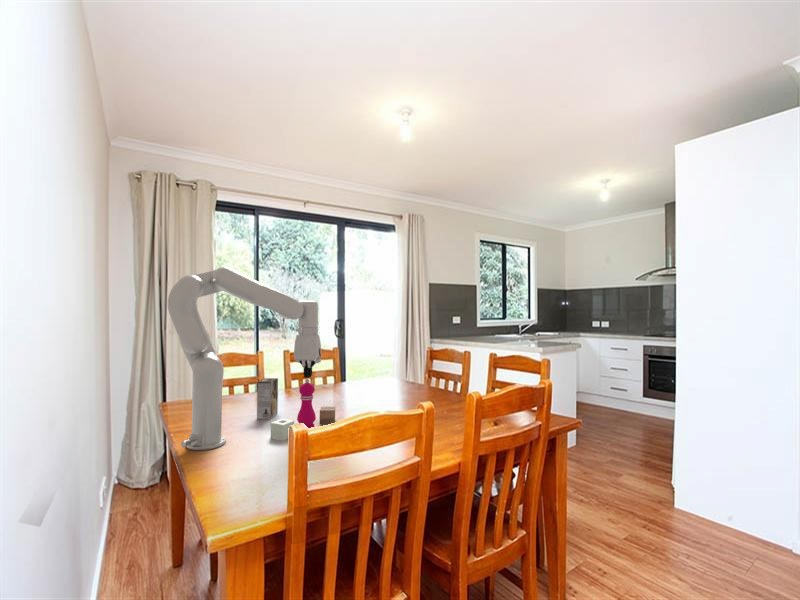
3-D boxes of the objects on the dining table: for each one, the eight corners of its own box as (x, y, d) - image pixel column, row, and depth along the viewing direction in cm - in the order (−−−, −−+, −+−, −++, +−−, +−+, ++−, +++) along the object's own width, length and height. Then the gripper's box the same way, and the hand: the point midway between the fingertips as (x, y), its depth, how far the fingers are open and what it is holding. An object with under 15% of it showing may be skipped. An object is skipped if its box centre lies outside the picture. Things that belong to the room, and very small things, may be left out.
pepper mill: (310, 432, 156) (311, 381, 156) (293, 431, 157) (294, 380, 157) (318, 427, 163) (319, 377, 163) (301, 425, 164) (302, 377, 164)
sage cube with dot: (283, 440, 146) (283, 424, 146) (270, 438, 149) (270, 422, 149) (294, 436, 152) (294, 420, 152) (281, 433, 154) (281, 418, 154)
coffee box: (263, 413, 182) (264, 377, 182) (277, 413, 182) (278, 378, 182) (256, 419, 172) (256, 381, 173) (270, 419, 172) (271, 382, 172)
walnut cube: (334, 424, 167) (334, 410, 167) (319, 424, 166) (319, 410, 166) (335, 420, 173) (335, 406, 173) (321, 420, 172) (321, 406, 172)
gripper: (286, 331, 159) (286, 377, 159) (321, 332, 155) (320, 380, 155) (296, 330, 166) (295, 374, 166) (329, 331, 162) (329, 376, 162)
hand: (307, 377), depth 160 cm, fingers closed
